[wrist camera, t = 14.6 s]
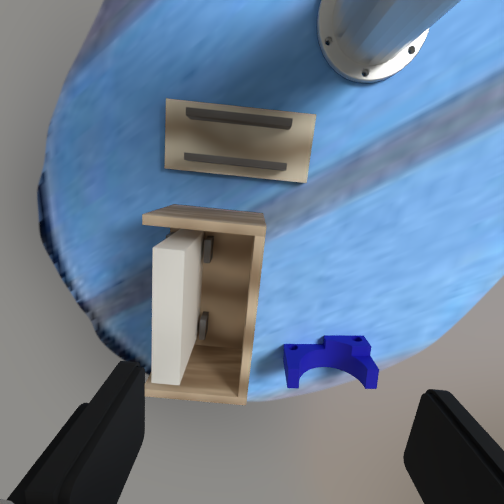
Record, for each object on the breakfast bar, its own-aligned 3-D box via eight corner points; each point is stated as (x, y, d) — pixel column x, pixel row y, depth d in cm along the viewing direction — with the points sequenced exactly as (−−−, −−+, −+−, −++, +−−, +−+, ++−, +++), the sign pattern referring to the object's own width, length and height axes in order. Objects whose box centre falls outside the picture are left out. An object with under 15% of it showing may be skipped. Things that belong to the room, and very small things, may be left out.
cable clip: (363, 335, 43) (380, 359, 37) (360, 360, 44) (376, 388, 38) (284, 334, 43) (288, 359, 37) (283, 360, 44) (287, 388, 38)
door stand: (169, 101, 35) (159, 92, 31) (314, 116, 35) (321, 109, 31) (167, 168, 37) (157, 167, 33) (304, 182, 37) (310, 183, 33)
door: (175, 227, 37) (144, 246, 26) (204, 229, 37) (184, 250, 26) (172, 329, 41) (144, 382, 30) (198, 331, 41) (179, 385, 30)
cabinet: (174, 204, 38) (142, 214, 27) (263, 213, 38) (266, 226, 27) (170, 342, 43) (142, 396, 32) (248, 349, 43) (246, 405, 33)
